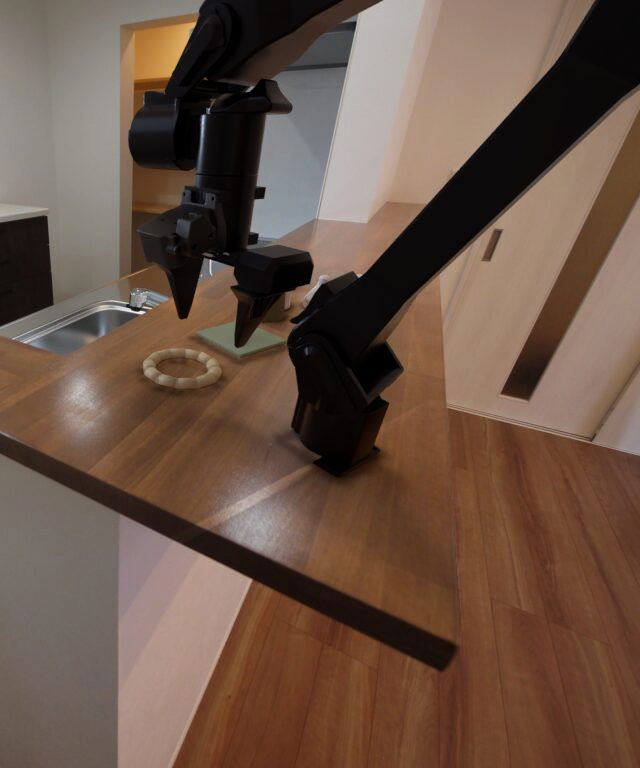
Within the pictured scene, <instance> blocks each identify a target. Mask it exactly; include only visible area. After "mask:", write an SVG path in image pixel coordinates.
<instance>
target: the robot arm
mask: <svg viewBox="0 0 640 768" xmlns="http://www.w3.org/2000/svg"><path fill="white" fill-rule="evenodd" d="M381 2H384V0H203V2H202V3H201V5H200V6H199V8H198V17H197V19H196V23H195V25H194V27H193V30H192V32H191V34H190V36H189V38H188V40H187V42H186V44H185V46H184V48H183V50H182V53H181V54H180V56H179V58H178V61H177V63H176V65H175V67H174V69H173V71H172V72H171V74H170V77H169V79H168V81H167V84H166V86H165V88H164V91H162V90H161V91H160V90H145V92H144V93H143V106H141V107H140V108H139V109H138V110H137V111H136V113H135V115H134V116H133V118H132V120H131V125H130V128H129V130H128V131H127V144H128V150H129V154H130V155H131V157H132V160H133V161H134V163H135V164H136V165H137V166H139V168H140V167H141V168H142V169H146V170H147V169H148V170H163V171H175V172H176V171H178V172H190V171H192V170H194V169H195V171H194V178H193V179H194V180H193V184H190V185H189V184H188V185H184V188H183V189H182V191H181V198H180V204H179V205H177V206H176V207H173V208H170V209H167V210H166V211H164V212H162V213H160V214H158V215H156V216H154V217H153V218H151V219H150V220H148V221H145V222H144V223H142V224H141V225H139V227H137V233H138V236H139V240H140V243H141V247H142V251H143V254H144V258H145V260H146V262H148V263H151V264H152V263H155V264H156V265H157V266H158V267H160V269H161V270H163V272H164V273H165V275H166V278H167V281H168V285H169V287H170V291H171V294H172V298H173V302H174V306H175V310H176V313H177V317H178V319H179V320H186V319H188V317H189V315H190V312H191V309H192V307H193V303H194V299H195V295H196V292H197V288H198V282H199V280H200V275H201V272H202V270H203V269H202V268H203V266H204V265H203V264H204V261H205V259H207V260H210V261H212V262H216V263H219V264H223V265H226V266H229V267H231V268H233V274H232V275H233V277H234V279H235V281H236V284H234V285H230V286H229V288H230V290H231V292H232V293H233V295H234V297H235V298H236V300H237V305H238V306H236V312H237V315H236V314H235V319H236V324H235V333H234V346H235V347H236V348H240V347H243V346H245V344H246V343H247V341H248V340H249V339H250V337H251V336H252V334H253V333H254V331H255V330H256V329H257V327H258V328H259V326H260V324H261V323H262V322H263V321H262V320H263V319H264V317H265V316H266V314H267V313H268V312H269V310H270V309H271V308H272V307H273V306H274V305H275V303H276V302H277V301H278V300H279V299H280V298H281V296H282V295H283V294H284V293H286V292H290V291H292V292H294V291H296V290H297V288H300V287H304V286H309V285H311V283H312V277H313V272H314V269H315V262H314V260H313V257H312V255H311V253H310V251H307V250H302V249H299V248H295V247H290V246H287V245H282V244H274V245H267V246H262V247H255V248H248V247H249V246H254V245H258V244H259V243H258V242H259V236H260V233H258V232H255V231H251V228H252V221H253V214H254V208H255V202H256V201H257V200H264V199H265V196H266V189H267V186H260V185H258V179H259V171H260V165H261V157H262V151H263V144H264V137H265V129H266V122H267V116H277V115H281V116H282V115H289V114H291V113H292V111H293V109H294V108H293V103H291V101H290V100H289V99H288V98H287V97H286V96H285V95H284V94H283V92H282V90H281V89H280V86H279V83H278V81H277V80H275V79H274V78H275V77H277V76H278V75H279V74H280V73H282V72H283V71H284V70H286V69H287V68H288V67H290V66H291V65H293V64H294V63H296V62H297V61H298V60H300V58H301V57H303V56H304V54H305V53H306V52H307V51H308V50H309V48H310V47H311V46H312V45H313V44H314V43H315V41H316V40H318V39H319V38H320V37H321V36H323V35H324V34H326V33H327V32H328V31H330V30H331V29H332V28H335V26H338V25H340V24H341V23H343V22H345V21H347V20H350V19H351V18H353V17H355V16H356V15H358V14H361V13H362V12H365V11H366V10H368V9H370V8H372V7H374V6H376V5H378V4H379V3H381ZM250 88H251V90H249V89H250ZM248 90H249V91H248ZM639 91H640V0H594V1H593V2H592V4H591V6H590V8H589V9H588V11H587V12H586V14H585V15H584V17H583V19H582V20H581V22H580V24H579V25H578V27H577V29H575V32H574V33H573V35H572V37H571V38H570V40H569V41H568V43H567V45H566V46H565V48H564V49H563V51H562V52H561V54H560V55H559V56H558V58H557V60H556V61H555V62H554V63H553V64H552V66H551V67H550V68H549V69H548V70H547V72H545V74H544V75H543V76H542V77H541V78H540V79H539V80H538V81H537V82H536V84H535V85H534V86H533V87H532V88H531V89H530V90H529V91H528V92H527V94H525V96H523V98H522V99H521V100H520V101H519V102H518V103H517V105H516V106H515V107H514V108H512V110H511V111H510V112H509V113H508V115H507V116H505V118H504V119H503V120H502V121H501V122H500V123H499V125H498V126H497V127H496V128H495V129H494V130H493V131H492V132H491V133H490V134H489V135H488V136H487V138H486V139H485V140H484V141H483V142H482V143H481V145H479V146H478V147H477V149H476V150H475V151H474V152H473V153H472V154H471V155H470V157H468V159H467V160H466V161H465V162H464V163H463V164H462V165H461V166H460V168H458V170H457V171H456V172H455V173H454V174H453V176H451V177H450V178H449V180H448V181H446V183H445V184H444V185H443V186H442V187H441V188H440V189H439V191H438V192H436V194H435V195H434V196H433V197H432V198H431V199H430V201H429V202H428V203H427V204H426V205H425V206H424V207H423V209H421V210H420V211H419V213H418V214H417V215H416V216H415V217H414V218H413V220H411V222H410V223H409V224H408V225H407V226H406V227H405V228H404V229H403V230H402V231H401V233H400V234H399V235H398V236H397V237H396V238H395V239H394V240H393V242H391V243H390V245H389V246H388V247H387V248H386V249H385V250H384V251H383V253H382V254H381V255H380V256H379V257H378V258H377V259H376V260H375V261H374V262H373V264H372V265H370V267H369V268H368V269H367V270H366V271H365V272H364V273H362V274H363V275H362V276H360V277H358V276H357V275H356V274H357V273H356V272H355V271H354V270H351V271H348V272H346V273H344V274H342V275H339V276H337V277H334V278H333V279H330V280H329V281H328V282H326V283H323V284H321V285H320V287H319V288H318V289H317V291H316V292H315V293H314V295H313V297H312V298H311V300H310V302H309V304H308V305H307V307H306V308H305V307H304V309H303V310H302V311H301V312H300V313H299V314H298V315H296V316H294V317H292V318H290V319H289V323H291V324H293V325H295V326H294V327H293V328H292V329H291V330H290V332H289V333H288V336H287V339H286V343H285V344H286V347H287V350H288V351H287V352H288V356H289V359H290V362H291V363H292V365H293V367H294V372H295V377H296V378H295V379H296V386H297V393H298V394H297V399H296V402H295V407H294V410H293V413H292V419H291V423H290V428H291V429H293V433H296V434H297V435H298V437H299V440H300V442H301V444H302V445H303V446H304V447H305V448H306V449H307V450H308V451H310V452H312V453H313V454H315V455H317V456H319V457H318V458H316V459H315V460H313V461H312V462H313V463H315V464H316V465H318V466H319V467H320V468H322V469H323V470H326V471H327V472H328V473H330V474H331V475H333V476H335V477H337V478H338V477H339V478H340V477H343V476H345V475H347V474H348V473H350V472H351V471H353V470H355V469H357V468H358V467H360V466H362V465H364V464H365V463H367V462H369V461H370V460H372V459H374V458H375V457H377V456H379V454H380V453H381V448H380V447H378V446H377V445H375V443H376V440H377V438H378V435H379V434H380V430H381V427H382V425H383V422H384V419H385V417H386V414H387V411H388V408H389V406H390V402H389V401H388V400H385V399H384V398H382V396H381V394H382V393H383V392H384V391H385V390H386V389H387V388H389V387H390V386H391V385H392V384H393V383H394V382H395V381H396V380H397V379H398V378H399V377H400V376H401V375H402V374H403V373H404V371H405V367H404V366H403V364H402V363H401V361H400V359H399V358H398V356H397V355H396V353H395V352H394V350H393V349H392V347H391V345H390V344H389V342H388V339H389V337H390V336H391V335H392V334H393V333H394V331H395V330H396V329H397V327H398V326H399V325H400V323H401V321H402V320H403V319H404V317H405V315H406V314H407V312H408V311H409V309H410V308H411V306H412V305H413V303H414V301H415V300H416V299H417V298H418V297H419V295H420V293H421V292H422V291H423V290H425V289H426V288H427V287H428V286H429V285H430V284H431V283H432V282H433V281H434V280H436V278H437V277H438V276H440V274H442V273H443V272H444V271H445V270H446V269H447V268H448V267H449V266H450V265H451V264H452V263H453V262H455V260H457V259H458V258H459V257H460V256H461V255H462V254H463V253H464V252H465V251H466V250H467V249H468V248H470V246H472V244H474V243H475V242H476V241H477V240H478V239H479V238H480V237H481V236H482V235H484V233H486V231H487V230H489V229H490V228H491V227H492V226H493V225H494V224H495V223H496V222H497V221H498V220H499V219H500V218H502V217H503V216H504V215H505V214H506V213H507V212H508V211H509V210H510V209H511V208H512V207H513V206H515V204H517V202H519V201H520V200H521V199H522V198H523V197H524V196H525V195H526V194H527V193H528V192H529V191H531V190H532V189H533V188H534V186H536V185H537V184H538V183H539V182H540V181H541V180H542V179H543V178H544V177H545V176H547V174H548V173H550V172H551V171H552V170H553V169H554V168H555V167H556V166H557V165H559V164H560V162H562V160H563V159H564V158H566V157H567V156H569V154H570V153H571V152H572V151H573V150H574V149H576V147H578V145H579V144H581V143H582V142H583V141H584V139H586V138H587V137H588V136H589V135H590V134H591V133H592V132H593V131H595V129H597V128H598V127H599V126H600V125H601V124H602V123H603V122H604V121H606V120H607V118H609V117H610V116H611V114H613V113H614V112H615V111H616V110H617V109H618V108H619V107H620V106H621V105H623V104H624V103H625V102H626V101H627V100H628V99H630V98H632V97H633V96H635V94H636V93H638V92H639Z"/></svg>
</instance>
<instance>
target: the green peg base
mask: <svg viewBox="0 0 640 768" xmlns="http://www.w3.org/2000/svg"><path fill="white" fill-rule="evenodd" d="M237 306H238V304H237ZM237 306H236V307H237ZM235 313H236V314H235V316H236V315H237V311H236V312H235ZM235 324H236V318H235V320H234V321H231V322H227V323H223V324H221V325H217V326H212V327H208V328H205V329H201V330H197V331H195V335H196V336H197V337H200V338H202V339H203V340H205V341H207V342H209V343H211V344H213V345H215V346H217V347H219V348H221V349H222V350H224V351H226V352H228V353H230V354H232V355H234V356H236V357H238V358H239V359H240V358H244V357H247V356H249V355H253V354H255V353H256V354H257V353H260V352H262V351H265V350H268V349H273V348H275V347H278V346H281V345H284V344H286V343H287V339H285V338H283V337H280V336H278V335H276V334H274V333H271V332H269V331H267V330H264V329H262V328H260V327H259V326H258V327H257V329H256V330H255V331H254V333H253V334H252V336H251V337H250V339H249V340H248V341H247V343H246V344H245V346H243V347H240V348H236V347H235V346H234V333H235Z"/></svg>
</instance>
